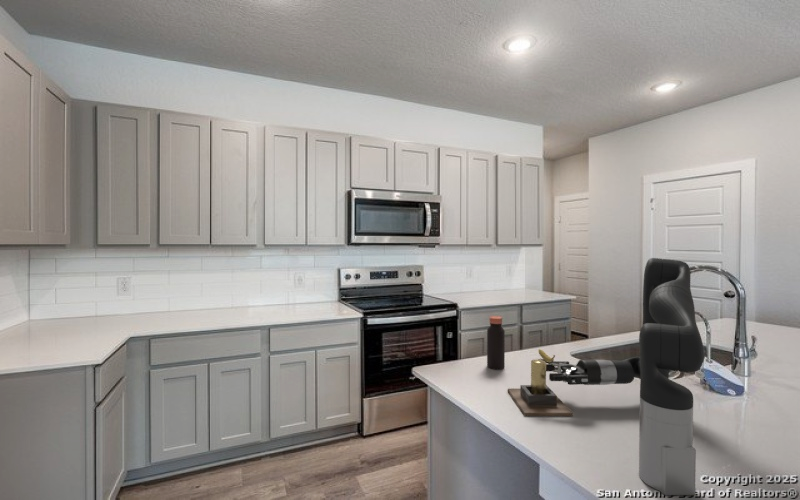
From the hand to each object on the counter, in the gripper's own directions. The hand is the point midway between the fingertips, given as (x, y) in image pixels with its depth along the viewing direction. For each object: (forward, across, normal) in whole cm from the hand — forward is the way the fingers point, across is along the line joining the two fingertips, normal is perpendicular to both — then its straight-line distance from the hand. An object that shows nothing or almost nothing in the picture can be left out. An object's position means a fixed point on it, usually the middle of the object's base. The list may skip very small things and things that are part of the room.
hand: (544, 372), depth 120 cm
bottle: (+7, -34, +10) cm, 36 cm away
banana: (-16, -41, +10) cm, 45 cm away
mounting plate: (+2, 0, +10) cm, 10 cm away
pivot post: (+2, 0, +9) cm, 9 cm away
